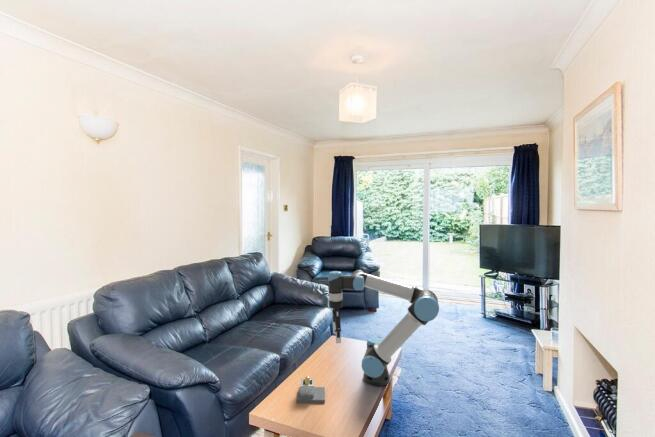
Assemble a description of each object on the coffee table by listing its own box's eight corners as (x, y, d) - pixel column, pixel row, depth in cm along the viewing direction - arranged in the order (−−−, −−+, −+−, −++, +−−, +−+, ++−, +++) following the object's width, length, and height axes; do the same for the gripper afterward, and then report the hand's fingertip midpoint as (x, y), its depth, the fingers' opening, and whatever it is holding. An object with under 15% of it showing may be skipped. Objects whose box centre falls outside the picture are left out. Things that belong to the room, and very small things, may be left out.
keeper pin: (310, 391, 180) (310, 375, 179) (310, 394, 177) (310, 378, 177) (305, 391, 180) (305, 375, 179) (304, 394, 177) (304, 378, 177)
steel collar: (314, 389, 182) (314, 378, 182) (314, 397, 175) (314, 385, 175) (301, 389, 182) (301, 378, 182) (300, 397, 175) (300, 385, 175)
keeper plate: (324, 389, 185) (324, 387, 185) (324, 402, 173) (324, 400, 173) (298, 389, 185) (298, 387, 184) (297, 402, 173) (297, 400, 172)
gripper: (327, 294, 199) (328, 330, 200) (331, 307, 174) (332, 347, 175) (339, 293, 199) (341, 329, 200) (345, 306, 174) (346, 346, 175)
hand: (337, 338), depth 187 cm, fingers open, 13 cm apart
